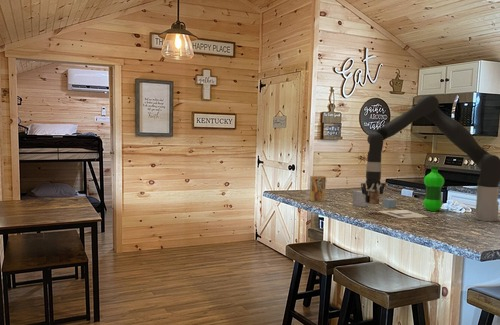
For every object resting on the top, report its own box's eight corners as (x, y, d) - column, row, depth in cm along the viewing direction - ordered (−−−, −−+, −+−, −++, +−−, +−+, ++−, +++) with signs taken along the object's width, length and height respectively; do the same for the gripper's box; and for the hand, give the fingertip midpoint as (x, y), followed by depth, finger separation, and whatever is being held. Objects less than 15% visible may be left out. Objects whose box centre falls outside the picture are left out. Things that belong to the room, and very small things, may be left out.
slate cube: (390, 206, 243) (390, 198, 243) (395, 208, 239) (396, 199, 238) (382, 207, 242) (383, 198, 241) (388, 208, 237) (388, 200, 237)
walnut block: (373, 202, 224) (373, 191, 224) (379, 203, 219) (379, 192, 219) (365, 202, 222) (365, 191, 222) (370, 204, 218) (371, 192, 217)
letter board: (405, 210, 232) (405, 210, 232) (428, 217, 215) (428, 216, 215) (377, 212, 226) (377, 211, 226) (399, 219, 209) (399, 218, 209)
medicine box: (368, 206, 242) (369, 191, 242) (364, 207, 239) (365, 192, 238) (356, 204, 248) (356, 190, 247) (352, 205, 244) (353, 191, 244)
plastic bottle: (419, 210, 235) (422, 165, 233) (426, 207, 243) (429, 165, 241) (438, 212, 228) (440, 167, 226) (444, 210, 236) (447, 166, 234)
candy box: (322, 199, 263) (323, 175, 262) (325, 200, 259) (326, 176, 258) (309, 200, 261) (310, 175, 260) (311, 201, 257) (312, 176, 256)
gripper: (380, 169, 225) (379, 200, 227) (357, 169, 221) (356, 201, 222) (389, 171, 218) (387, 203, 220) (366, 171, 214) (364, 204, 215)
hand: (372, 202), depth 221 cm, fingers closed on walnut block, 5 cm apart
